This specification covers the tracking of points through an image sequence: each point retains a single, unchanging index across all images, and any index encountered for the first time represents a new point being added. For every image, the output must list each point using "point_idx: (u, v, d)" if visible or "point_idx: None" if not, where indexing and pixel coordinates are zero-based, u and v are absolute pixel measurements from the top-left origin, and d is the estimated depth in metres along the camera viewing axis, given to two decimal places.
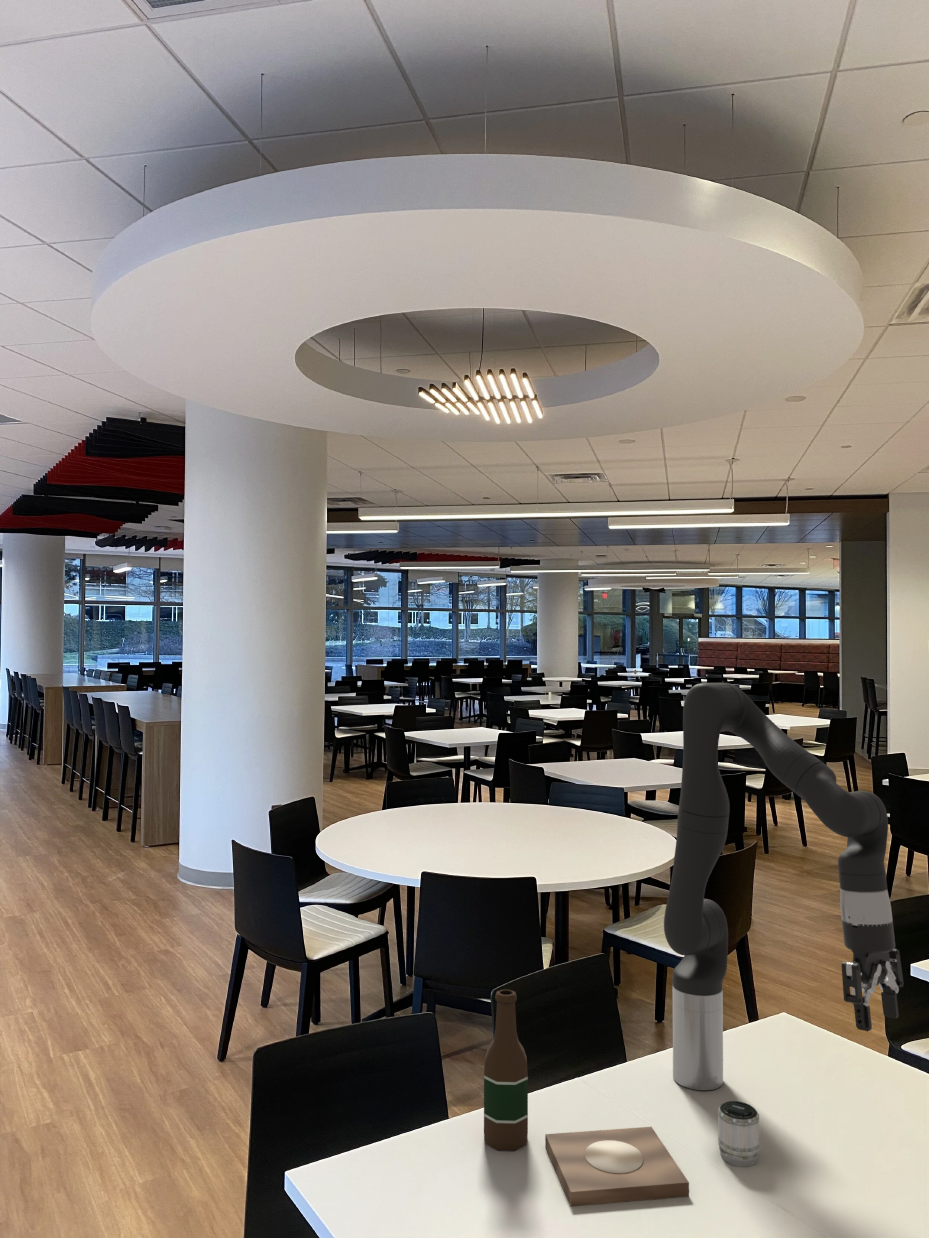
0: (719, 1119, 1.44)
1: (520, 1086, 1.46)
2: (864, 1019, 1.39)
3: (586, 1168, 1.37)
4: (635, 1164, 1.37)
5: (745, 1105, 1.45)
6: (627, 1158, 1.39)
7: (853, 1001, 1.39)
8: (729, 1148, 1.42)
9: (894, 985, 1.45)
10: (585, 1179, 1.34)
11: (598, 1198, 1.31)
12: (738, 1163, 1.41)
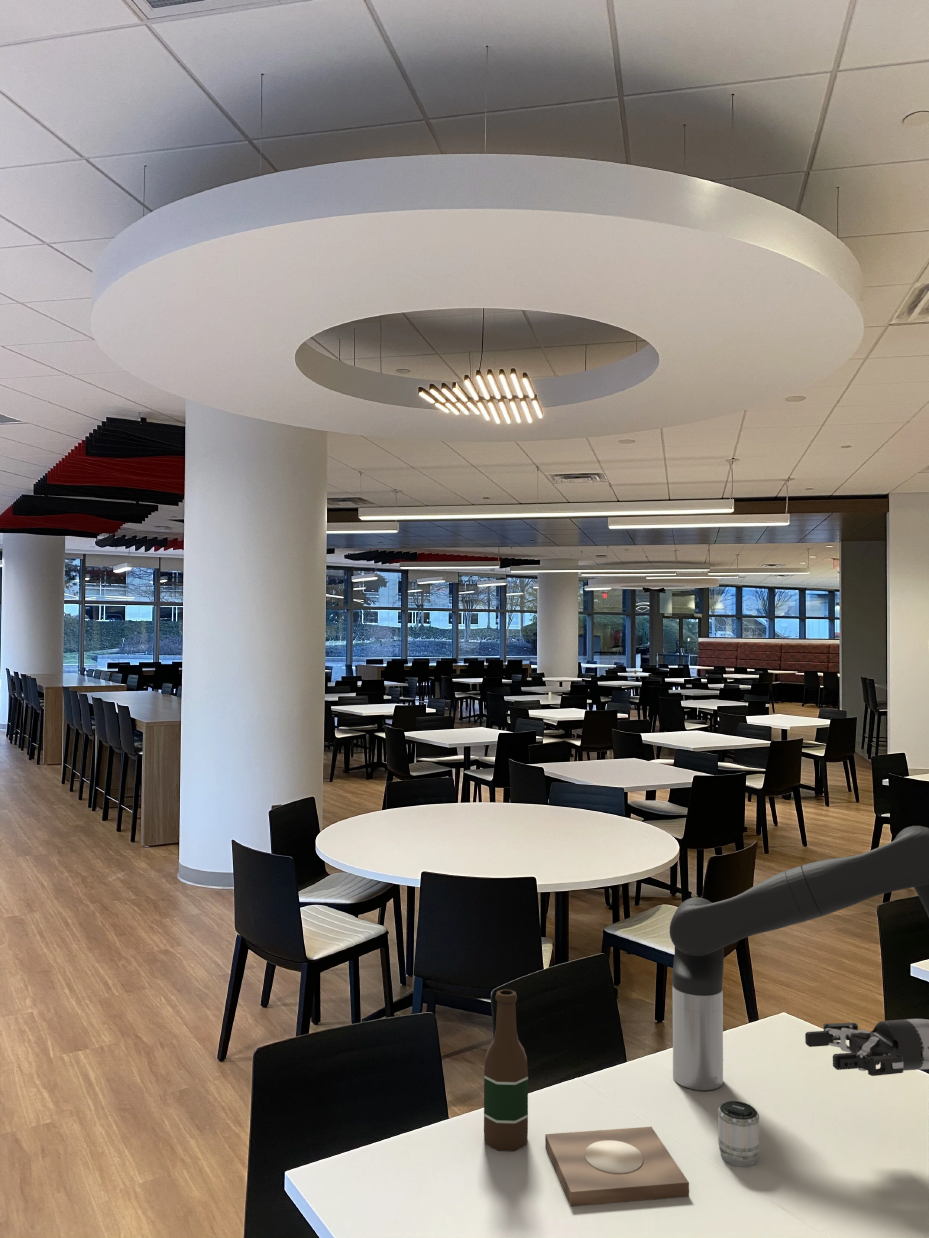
0: (719, 1119, 1.44)
1: (520, 1086, 1.46)
2: None
3: (586, 1168, 1.37)
4: (635, 1164, 1.37)
5: (745, 1105, 1.45)
6: (627, 1158, 1.39)
7: (872, 1069, 1.40)
8: (729, 1148, 1.42)
9: None
10: (585, 1179, 1.34)
11: (598, 1198, 1.31)
12: (738, 1163, 1.41)
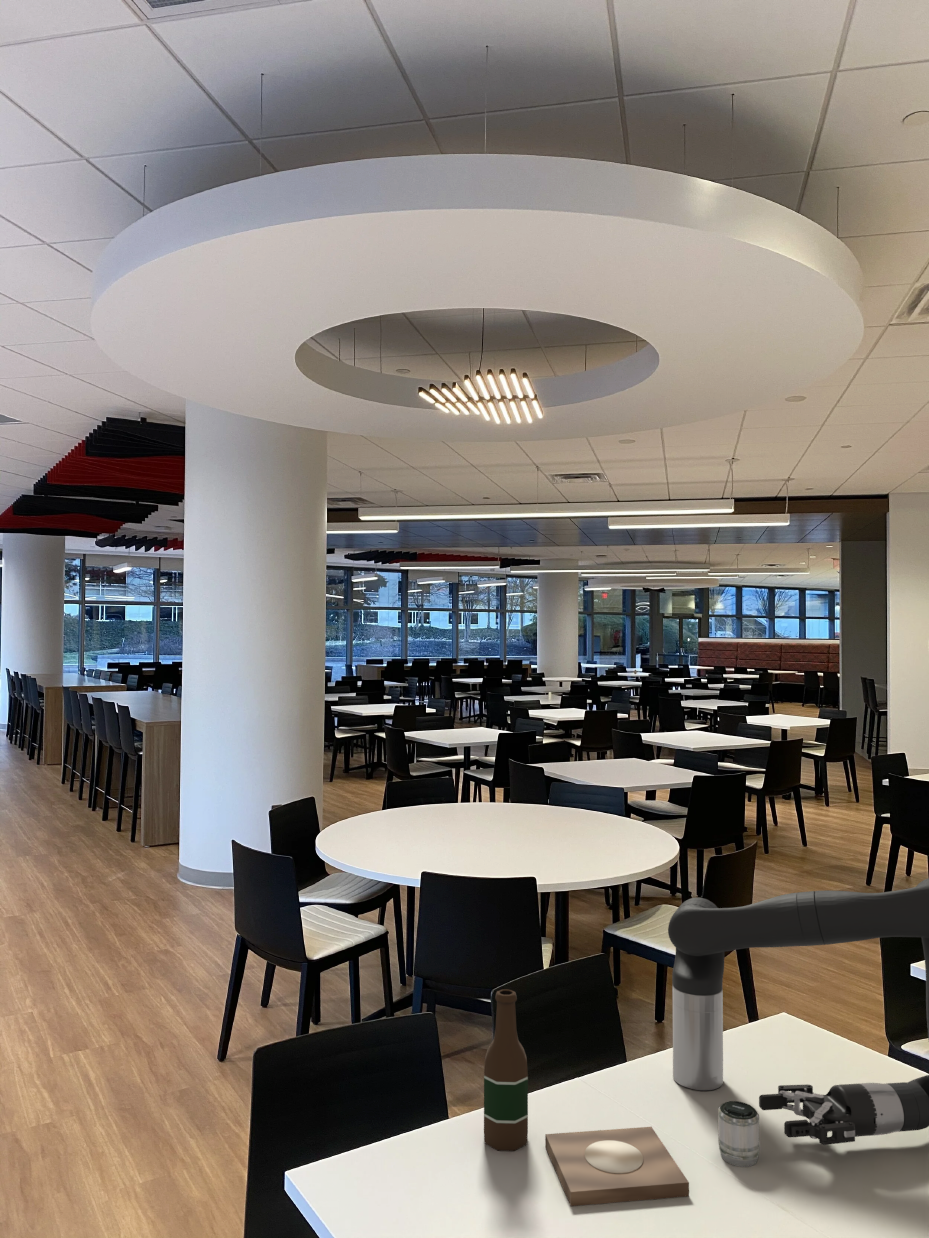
0: (719, 1119, 1.44)
1: (520, 1086, 1.46)
2: None
3: (586, 1168, 1.37)
4: (635, 1164, 1.37)
5: (745, 1105, 1.45)
6: (627, 1158, 1.39)
7: (823, 1138, 1.39)
8: (729, 1148, 1.42)
9: None
10: (585, 1179, 1.34)
11: (598, 1198, 1.31)
12: (738, 1163, 1.41)
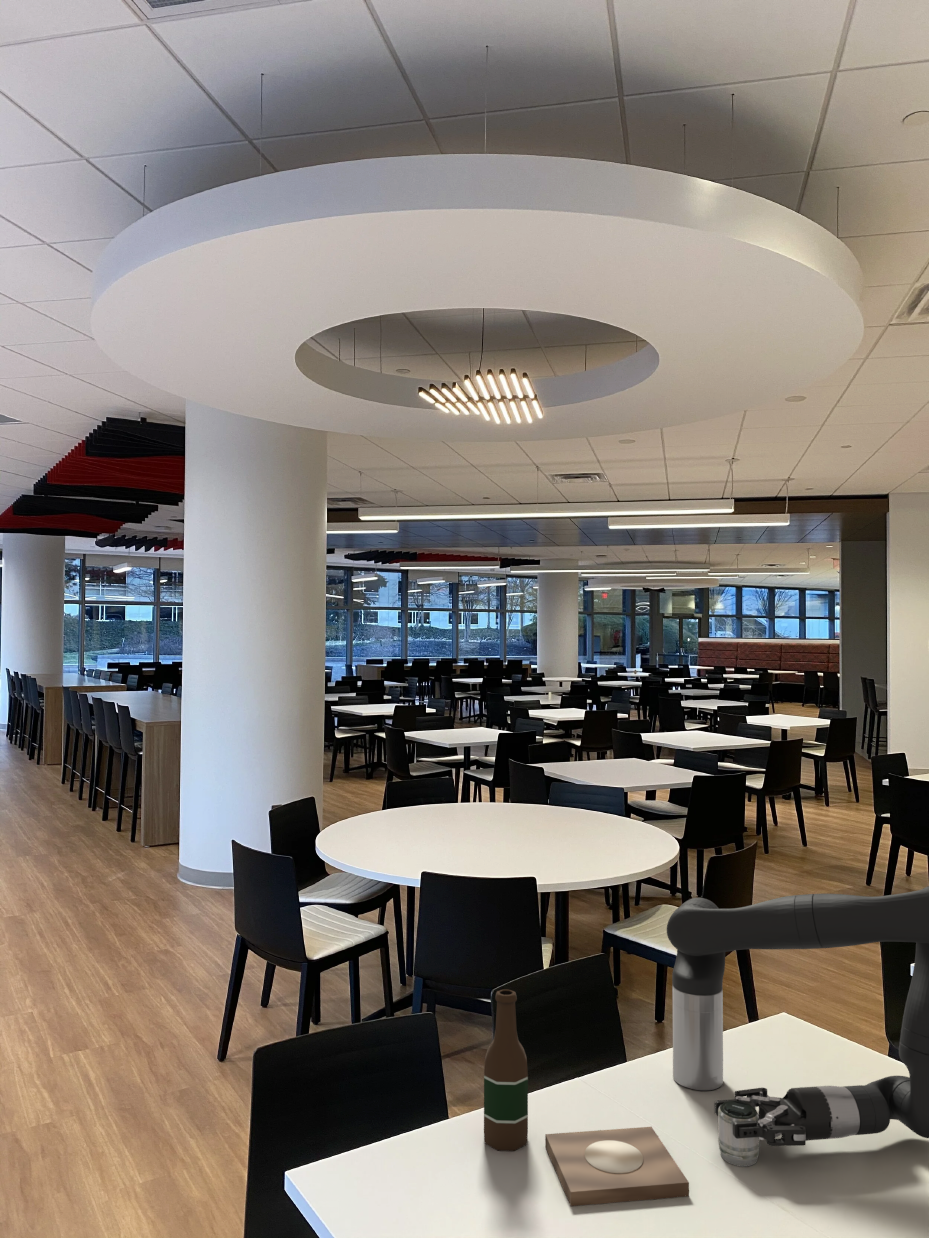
0: (719, 1119, 1.44)
1: (520, 1086, 1.46)
2: None
3: (586, 1168, 1.37)
4: (635, 1164, 1.37)
5: (745, 1105, 1.45)
6: (627, 1158, 1.39)
7: (771, 1139, 1.38)
8: (729, 1147, 1.42)
9: None
10: (585, 1179, 1.34)
11: (598, 1198, 1.31)
12: (738, 1163, 1.41)
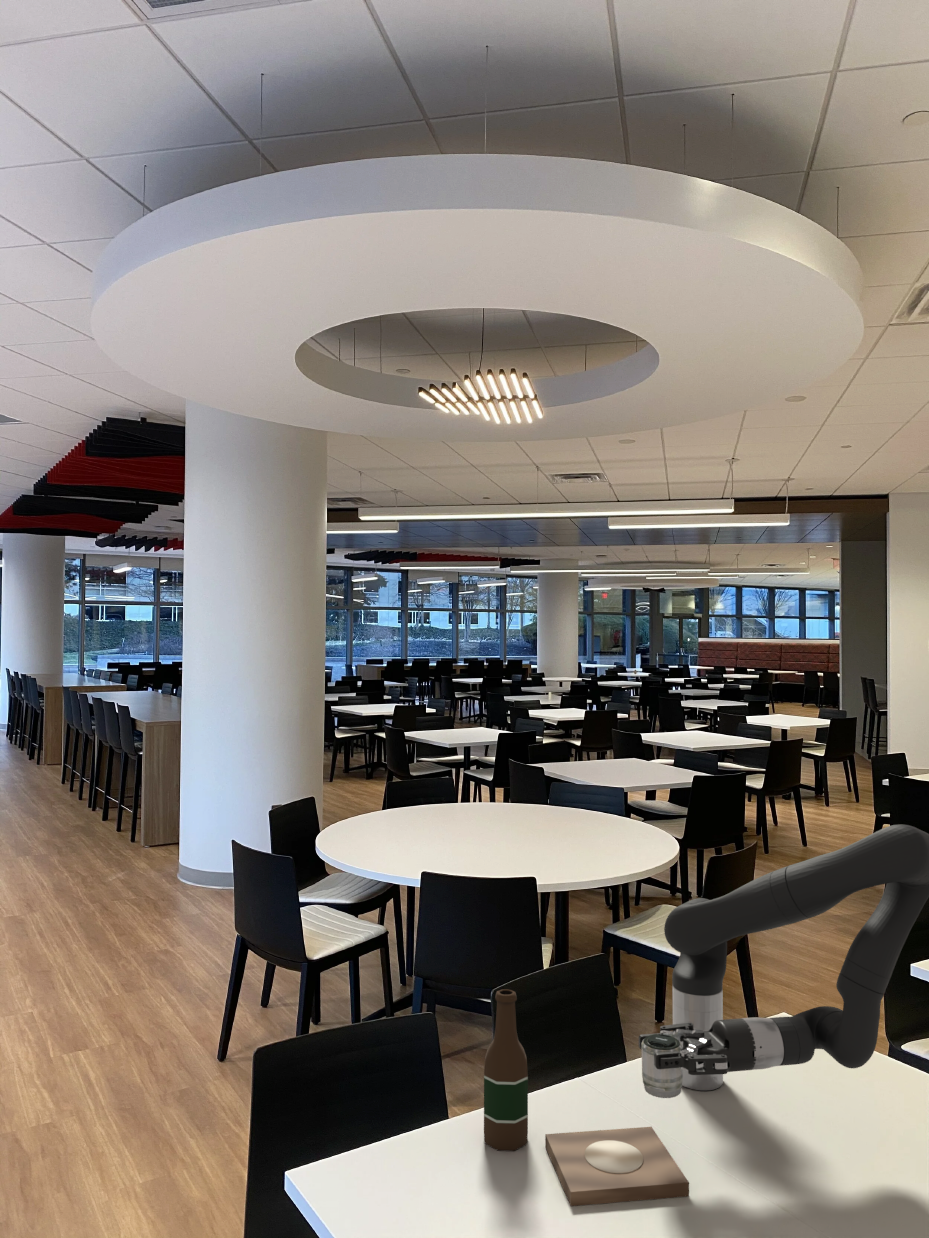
0: (642, 1051, 1.41)
1: (520, 1085, 1.46)
2: None
3: (586, 1168, 1.37)
4: (635, 1164, 1.37)
5: (668, 1037, 1.42)
6: (627, 1158, 1.39)
7: (692, 1068, 1.36)
8: (651, 1079, 1.39)
9: None
10: (585, 1179, 1.34)
11: (598, 1198, 1.31)
12: (660, 1095, 1.39)
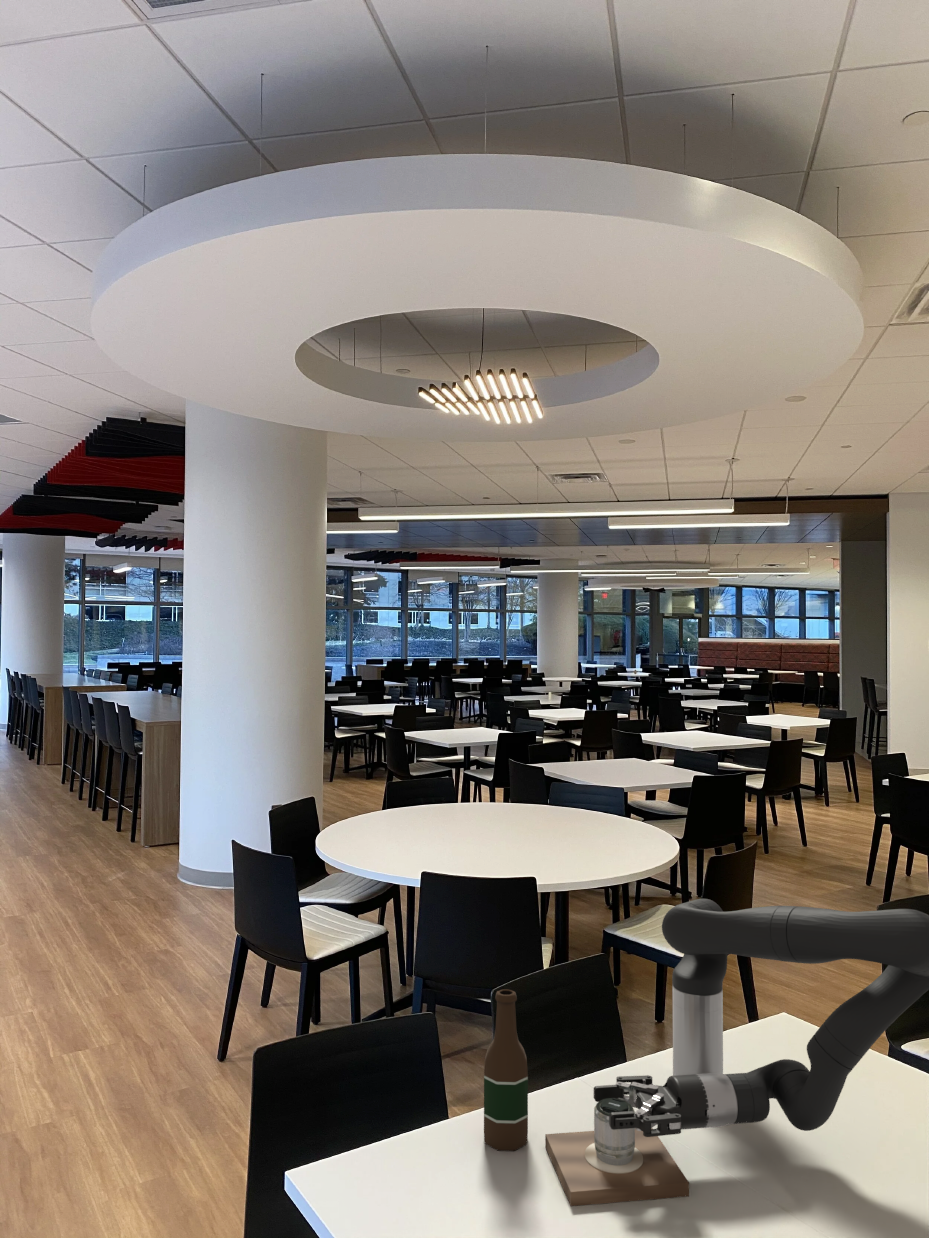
0: (594, 1117, 1.40)
1: (520, 1086, 1.46)
2: None
3: (586, 1168, 1.37)
4: (635, 1164, 1.37)
5: (622, 1102, 1.41)
6: None
7: (647, 1130, 1.34)
8: (602, 1146, 1.38)
9: None
10: (585, 1179, 1.34)
11: (598, 1198, 1.31)
12: (611, 1162, 1.37)
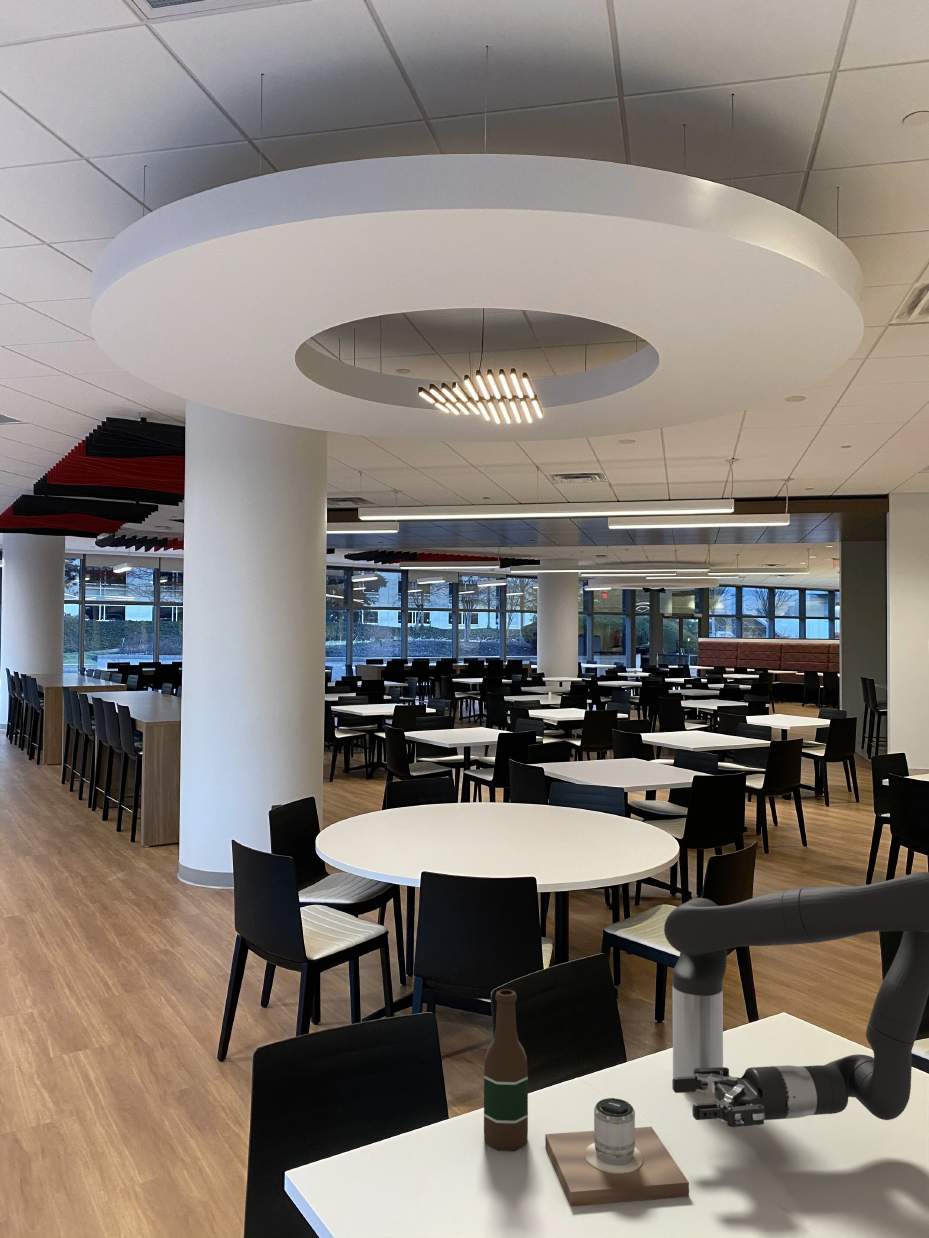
0: (594, 1116, 1.40)
1: (520, 1086, 1.46)
2: None
3: (586, 1168, 1.37)
4: (635, 1164, 1.37)
5: (622, 1102, 1.41)
6: None
7: (731, 1120, 1.36)
8: (603, 1146, 1.38)
9: None
10: (585, 1179, 1.34)
11: (598, 1198, 1.31)
12: (611, 1162, 1.37)
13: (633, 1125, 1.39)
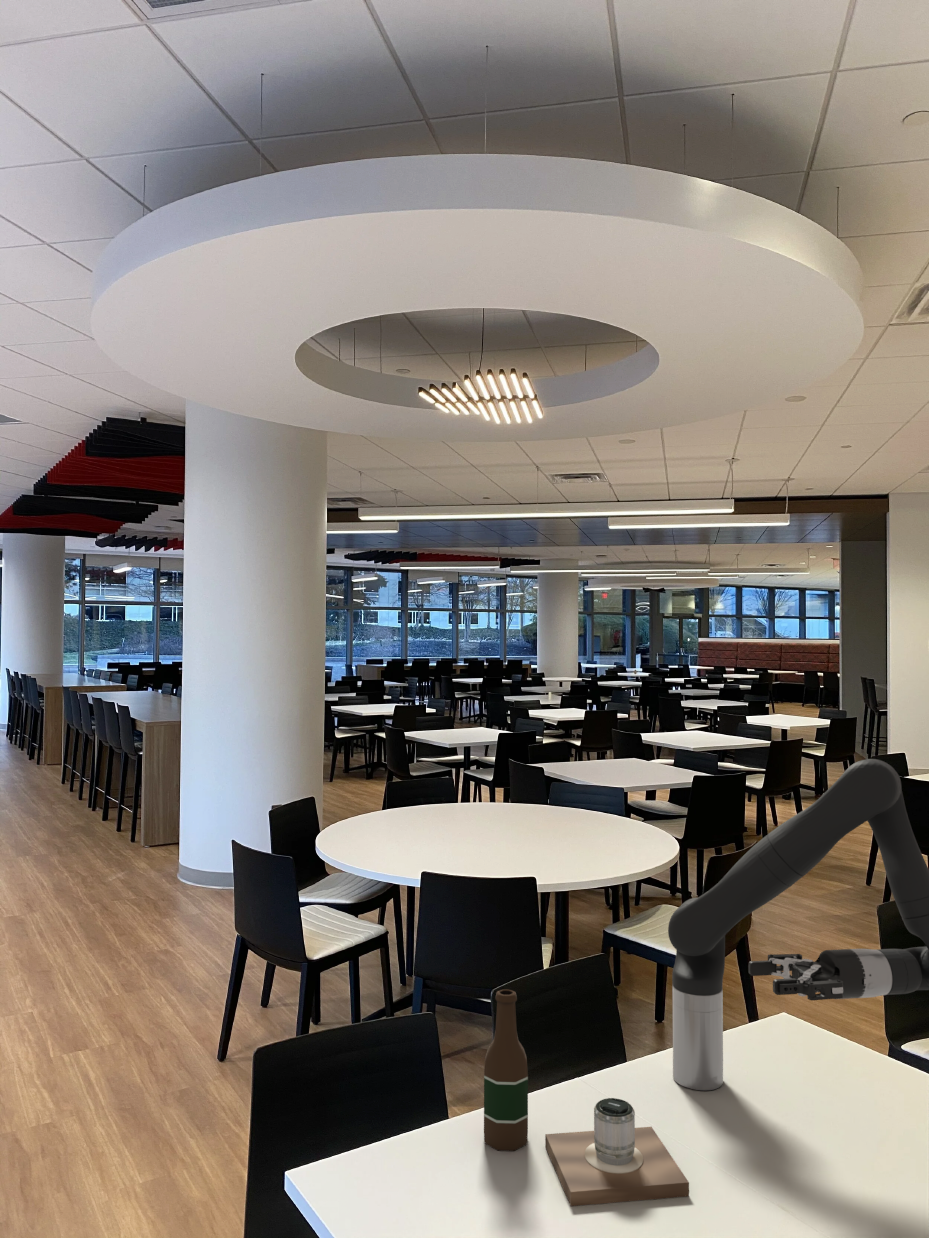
0: (594, 1117, 1.40)
1: (520, 1086, 1.46)
2: None
3: (586, 1168, 1.37)
4: (635, 1164, 1.37)
5: (622, 1102, 1.41)
6: None
7: (811, 994, 1.39)
8: (602, 1146, 1.38)
9: None
10: (585, 1179, 1.34)
11: (598, 1198, 1.31)
12: (611, 1162, 1.37)
13: (633, 1125, 1.39)
